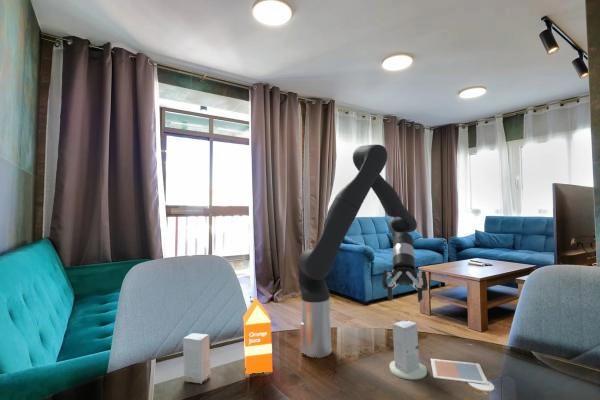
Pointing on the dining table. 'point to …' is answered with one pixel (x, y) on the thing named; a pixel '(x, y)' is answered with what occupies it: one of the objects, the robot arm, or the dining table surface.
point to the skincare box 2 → (406, 345)
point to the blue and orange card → (458, 371)
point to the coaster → (411, 375)
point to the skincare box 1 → (196, 356)
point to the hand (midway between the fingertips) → (405, 300)
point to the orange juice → (257, 339)
